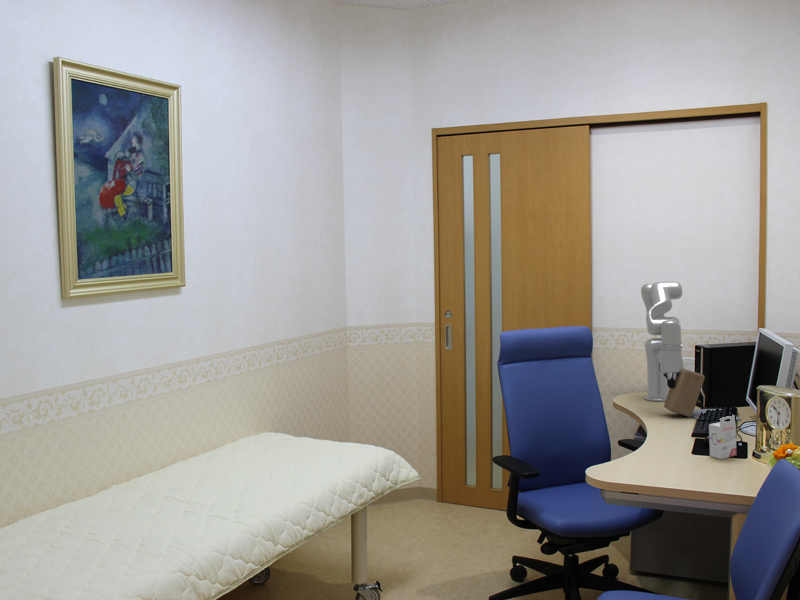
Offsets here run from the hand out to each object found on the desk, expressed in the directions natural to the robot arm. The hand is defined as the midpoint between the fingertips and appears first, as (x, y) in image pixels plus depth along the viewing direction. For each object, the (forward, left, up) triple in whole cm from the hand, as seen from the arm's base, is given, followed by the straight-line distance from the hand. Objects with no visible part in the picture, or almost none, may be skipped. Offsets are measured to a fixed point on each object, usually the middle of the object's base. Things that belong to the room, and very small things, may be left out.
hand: (671, 387), depth 304 cm
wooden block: (0, +2, -12) cm, 12 cm away
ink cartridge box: (+66, -4, -13) cm, 67 cm away
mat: (0, +17, -13) cm, 22 cm away
